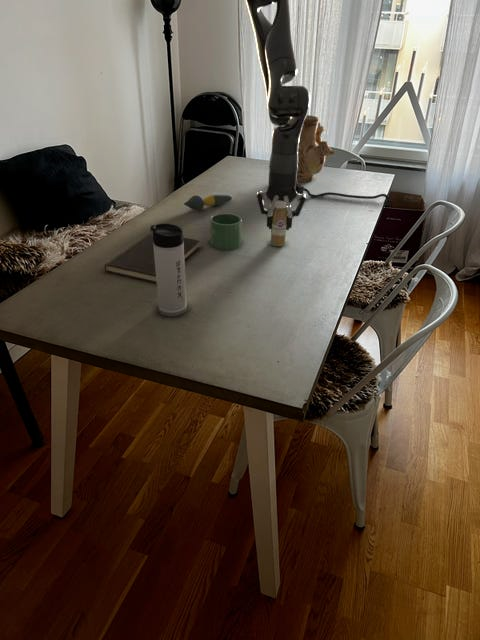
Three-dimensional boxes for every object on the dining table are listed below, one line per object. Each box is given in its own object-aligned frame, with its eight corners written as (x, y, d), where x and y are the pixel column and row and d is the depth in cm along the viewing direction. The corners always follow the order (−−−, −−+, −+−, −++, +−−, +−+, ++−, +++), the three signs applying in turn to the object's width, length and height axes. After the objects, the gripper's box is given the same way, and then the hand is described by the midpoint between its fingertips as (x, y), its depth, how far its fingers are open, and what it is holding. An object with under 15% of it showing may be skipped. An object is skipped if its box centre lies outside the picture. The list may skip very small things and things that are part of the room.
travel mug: (158, 302, 108) (151, 221, 97) (186, 302, 109) (183, 220, 98) (156, 317, 103) (148, 233, 92) (186, 316, 104) (182, 232, 92)
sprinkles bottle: (273, 247, 135) (277, 202, 127) (267, 241, 138) (270, 197, 131) (288, 245, 136) (292, 201, 129) (281, 239, 140) (285, 195, 132)
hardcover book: (200, 248, 133) (199, 240, 132) (159, 284, 115) (159, 276, 114) (151, 238, 138) (150, 231, 137) (105, 271, 120) (103, 263, 119)
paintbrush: (225, 198, 168) (225, 184, 166) (234, 201, 166) (234, 188, 163) (181, 211, 157) (180, 196, 154) (190, 215, 154) (190, 200, 151)
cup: (233, 235, 141) (233, 211, 137) (246, 246, 135) (246, 222, 131) (206, 240, 138) (205, 215, 134) (218, 252, 131) (218, 226, 127)
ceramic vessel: (330, 185, 184) (339, 117, 170) (283, 186, 182) (288, 117, 168) (318, 172, 199) (326, 108, 185) (274, 172, 197) (278, 108, 183)
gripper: (309, 166, 128) (303, 225, 137) (257, 163, 129) (254, 222, 138) (310, 174, 121) (303, 235, 131) (255, 171, 122) (253, 232, 132)
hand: (278, 228), depth 134 cm, fingers closed on sprinkles bottle, 4 cm apart
